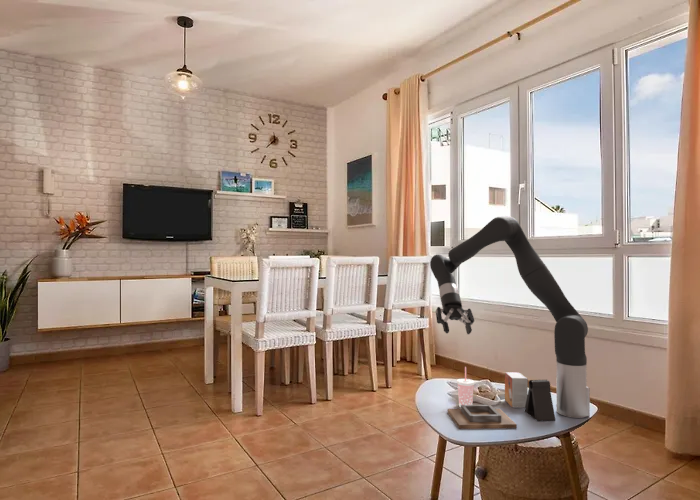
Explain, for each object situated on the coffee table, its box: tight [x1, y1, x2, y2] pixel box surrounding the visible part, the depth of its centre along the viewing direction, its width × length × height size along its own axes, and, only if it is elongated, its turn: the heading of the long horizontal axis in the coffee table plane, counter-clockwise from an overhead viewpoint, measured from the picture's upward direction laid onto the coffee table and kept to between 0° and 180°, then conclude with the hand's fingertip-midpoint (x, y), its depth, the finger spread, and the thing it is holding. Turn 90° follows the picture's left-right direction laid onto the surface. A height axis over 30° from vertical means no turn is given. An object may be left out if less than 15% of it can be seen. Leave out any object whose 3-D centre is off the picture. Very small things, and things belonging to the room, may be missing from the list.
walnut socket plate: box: [447, 404, 518, 430], centre depth 143 cm, size 18×14×3 cm
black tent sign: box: [524, 379, 556, 422], centre depth 146 cm, size 9×6×12 cm, turn 5°
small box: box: [504, 371, 529, 409], centre depth 158 cm, size 8×6×10 cm
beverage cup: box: [456, 366, 475, 408], centre depth 156 cm, size 6×6×14 cm
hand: (458, 332), depth 164 cm, fingers open, 8 cm apart
